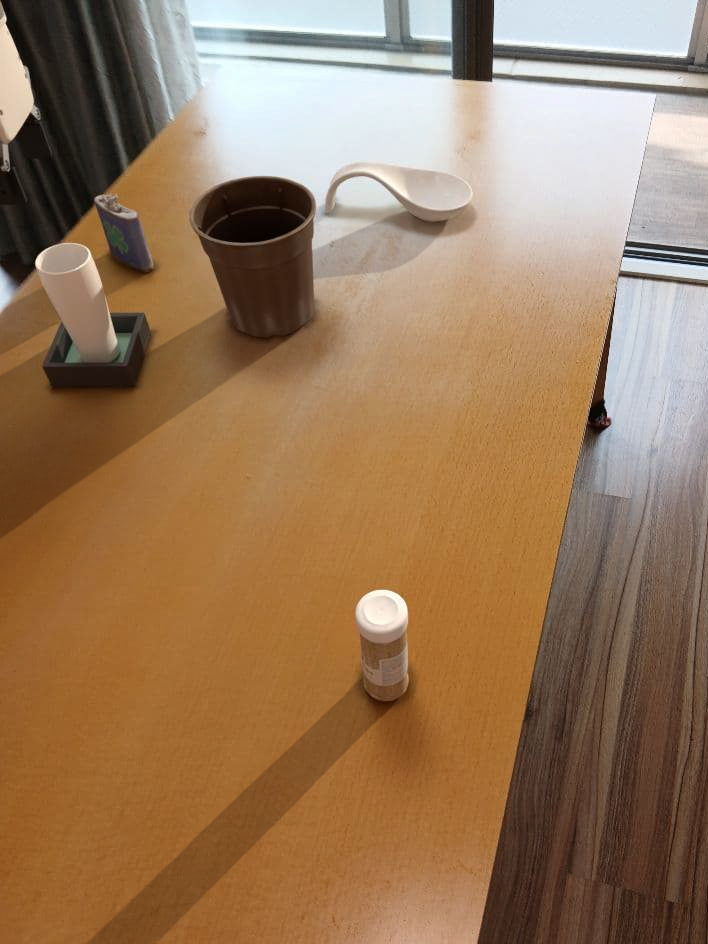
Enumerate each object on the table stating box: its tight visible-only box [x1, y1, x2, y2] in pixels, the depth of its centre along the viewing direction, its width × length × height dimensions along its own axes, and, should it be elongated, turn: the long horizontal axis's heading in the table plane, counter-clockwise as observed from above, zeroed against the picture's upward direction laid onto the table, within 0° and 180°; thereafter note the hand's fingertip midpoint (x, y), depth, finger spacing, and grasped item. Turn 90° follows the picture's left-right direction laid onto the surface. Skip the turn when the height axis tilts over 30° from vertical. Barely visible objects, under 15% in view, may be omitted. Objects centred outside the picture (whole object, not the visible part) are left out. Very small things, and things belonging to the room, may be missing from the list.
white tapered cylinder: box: [34, 242, 120, 363], centre depth 105 cm, size 7×7×15 cm
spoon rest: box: [324, 161, 474, 223], centre depth 129 cm, size 24×12×7 cm, turn 85°
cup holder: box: [41, 312, 152, 388], centre depth 110 cm, size 11×11×4 cm
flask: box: [93, 193, 155, 273], centre depth 121 cm, size 9×3×11 cm, turn 50°
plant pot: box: [188, 175, 317, 339], centre depth 110 cm, size 16×16×16 cm
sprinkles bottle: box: [354, 589, 410, 702], centre depth 75 cm, size 5×5×13 cm
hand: (26, 179), depth 91 cm, fingers open, 9 cm apart
